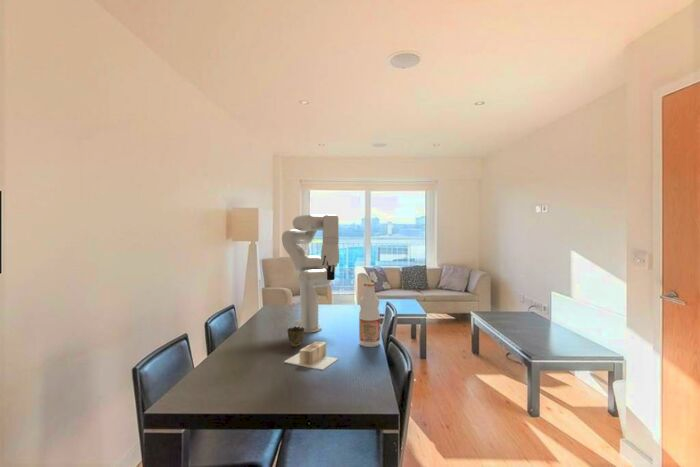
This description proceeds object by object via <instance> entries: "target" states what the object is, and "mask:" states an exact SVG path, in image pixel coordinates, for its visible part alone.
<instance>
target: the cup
mask: <svg viewBox="0 0 700 467" xmlns="http://www.w3.org/2000/svg"><path fill="white" fill-rule="evenodd" d="M304 334H305V332H304V328H303V327H302V328H300V329H299V326H298V327H297V326H294V327H292V326H291V327H289V328H287V338H288V341H289V342H290V343H291V346H292V347H293V348H297V347H300V345H301V343H302V342H303V339H304Z"/></svg>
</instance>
